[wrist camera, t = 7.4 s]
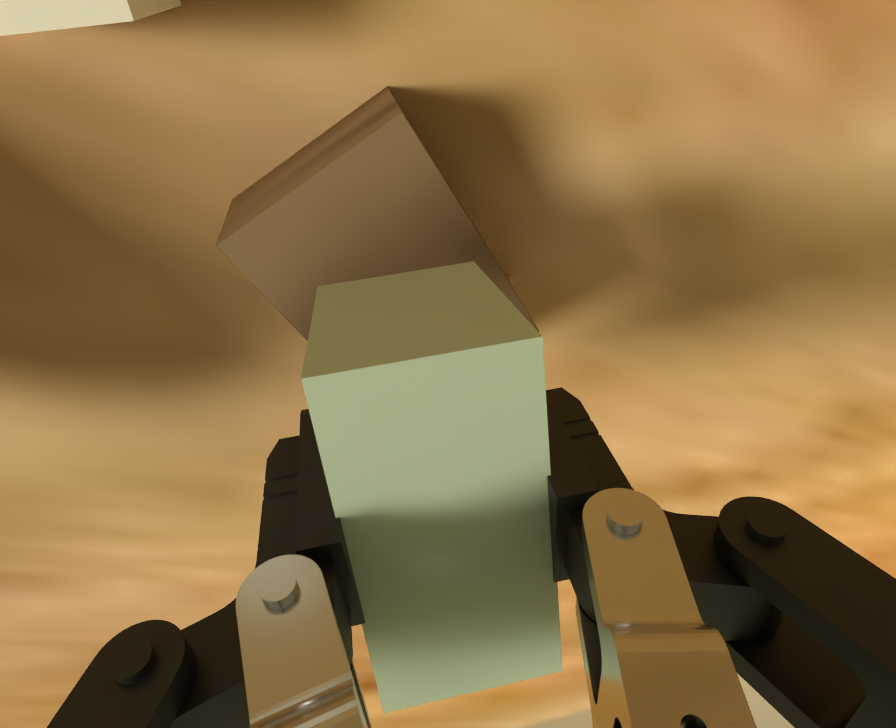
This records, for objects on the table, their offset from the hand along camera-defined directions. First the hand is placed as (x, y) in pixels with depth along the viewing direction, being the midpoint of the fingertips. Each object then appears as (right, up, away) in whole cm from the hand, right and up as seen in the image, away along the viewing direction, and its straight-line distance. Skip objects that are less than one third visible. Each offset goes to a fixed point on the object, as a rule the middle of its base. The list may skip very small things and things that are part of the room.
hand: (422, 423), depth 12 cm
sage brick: (0, 0, +2) cm, 2 cm away
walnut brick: (-2, +6, +8) cm, 10 cm away
